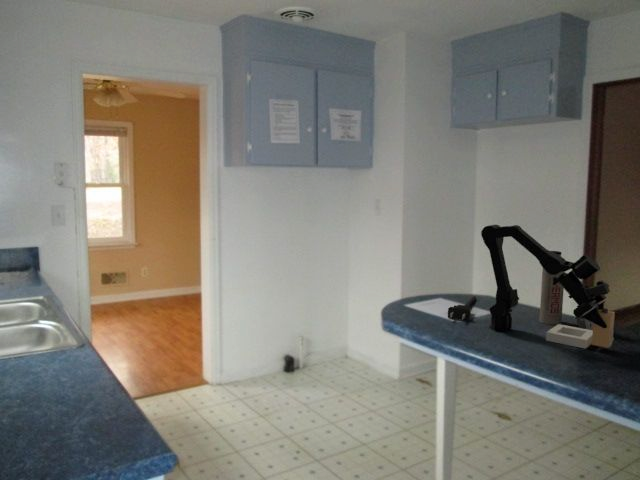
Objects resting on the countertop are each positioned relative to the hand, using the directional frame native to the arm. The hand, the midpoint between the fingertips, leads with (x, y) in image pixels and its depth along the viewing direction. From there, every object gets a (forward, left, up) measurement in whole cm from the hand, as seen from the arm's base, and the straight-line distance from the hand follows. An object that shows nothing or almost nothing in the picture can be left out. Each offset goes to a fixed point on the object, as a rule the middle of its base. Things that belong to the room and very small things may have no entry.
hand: (608, 325), depth 178 cm
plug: (-1, +1, -7) cm, 7 cm away
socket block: (-5, +12, -9) cm, 16 cm away
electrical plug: (-26, +55, -9) cm, 61 cm away
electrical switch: (+8, +24, -9) cm, 27 cm away
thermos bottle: (0, +34, -9) cm, 35 cm away
